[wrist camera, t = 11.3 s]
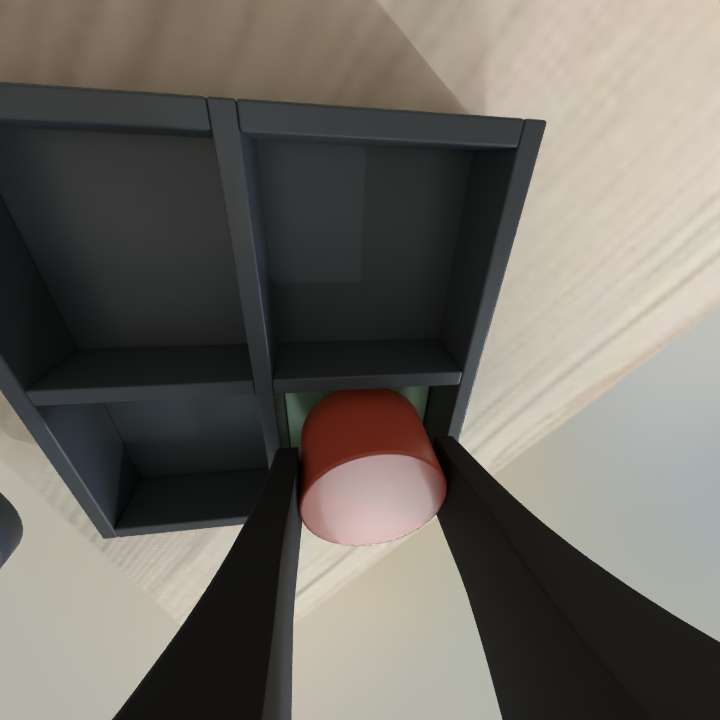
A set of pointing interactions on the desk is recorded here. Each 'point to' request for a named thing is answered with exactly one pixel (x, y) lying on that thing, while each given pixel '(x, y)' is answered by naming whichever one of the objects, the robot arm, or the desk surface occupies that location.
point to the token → (367, 468)
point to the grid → (237, 281)
